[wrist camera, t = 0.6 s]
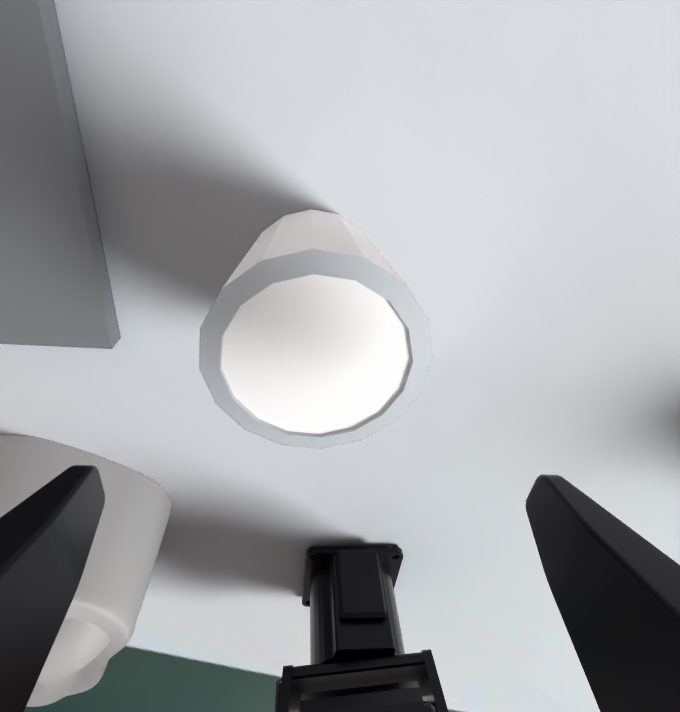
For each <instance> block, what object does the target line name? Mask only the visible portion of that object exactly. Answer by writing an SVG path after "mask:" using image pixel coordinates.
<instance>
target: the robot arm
mask: <svg viewBox="0 0 680 712" xmlns="http://www.w3.org/2000/svg"><path fill="white" fill-rule="evenodd" d="M104 504H105V492H104V488H103V484H102V481H101V477H100V473H99V470H98V468H97V467H96V466H94V465H73V466H71V467H69V468H67V469H66V470H65V471H63V472H62V473H60V474H59V475H58V476H56V477H55V478H54V479H52V480H51V481H50V482H48V483H47V484H45V485H44V486H43V487H41V488H40V489H39V490H37V491H36V492H34V493H33V494H32V495H30V496H29V497H28V498H26V499H25V500H24V501H22V502H21V503H19V504H18V505H17V506H15V507H14V508H13V509H11V510H10V511H8V512H7V513H6V514H4V515H3V516H2V517H0V712H24V710H25V708H26V706H27V703H28V701H29V699H30V696H31V694H32V692H33V690H34V687H35V685H36V683H37V680H38V678H39V676H40V674H41V671H42V669H43V667H44V664H45V662H46V660H47V658H48V655H49V653H50V651H51V648H52V646H53V644H54V642H55V639H56V637H57V635H58V632H59V630H60V628H61V626H62V623H63V621H64V619H65V616H66V614H67V612H68V610H69V607H70V605H71V603H72V600H73V598H74V596H75V593H76V591H77V588H78V586H79V583H80V580H81V577H82V574H83V571H84V568H85V565H86V562H87V559H88V556H89V552H90V549H91V546H92V543H93V540H94V537H95V533H96V530H97V527H98V524H99V521H100V518H101V514H102V511H103V508H104ZM526 511H527V515H528V518H529V522H530V525H531V528H532V532H533V535H534V538H535V542H536V545H537V548H538V552H539V555H540V558H541V562H542V565H543V568H544V572H545V575H546V578H547V581H548V583H549V586H550V588H551V591H552V594H553V596H554V599H555V601H556V604H557V606H558V608H559V611H560V613H561V616H562V618H563V621H564V623H565V626H566V628H567V630H568V633H569V635H570V638H571V640H572V643H573V645H574V648H575V650H576V653H577V655H578V657H579V660H580V662H581V665H582V667H583V670H584V672H585V675H586V677H587V680H588V682H589V684H590V687H591V689H592V692H593V694H594V697H595V699H596V702H597V704H598V707H599V709H600V711H601V712H680V565H679V564H678V563H676V562H675V561H674V560H672V559H671V558H669V557H668V556H667V555H665V554H664V553H663V552H661V551H660V550H659V549H657V548H656V547H655V546H653V545H652V544H651V543H649V542H648V541H647V540H645V539H644V538H643V537H641V536H640V535H639V534H637V533H636V532H635V531H633V530H632V529H631V528H629V527H628V526H627V525H625V524H624V523H623V522H621V521H620V520H619V519H617V518H616V517H615V516H613V515H612V514H611V513H609V512H608V511H607V510H605V509H604V508H603V507H601V506H600V505H599V504H597V503H596V502H595V501H593V500H592V499H591V498H589V497H588V496H587V495H585V494H584V493H583V492H581V491H580V490H579V489H577V488H576V487H575V486H573V485H572V484H571V483H569V482H568V481H567V480H565V479H564V478H562V477H561V476H558V475H540V476H539V477H537V479H536V481H535V483H534V485H533V487H532V489H531V491H530V493H529V495H528V497H527V500H526ZM402 559H403V553H402V550H401V548H399V547H313V548H310V549H308V550H307V552H306V562H305V572H304V583H303V594H302V604H303V605H304V606H308V607H310V645H311V665H305V666H297V667H293V665H289V666H283V674H282V678H281V679H280V680H278V681H277V682H276V702H275V712H448V709H447V706H446V702H445V699H444V695H443V691H442V688H441V684H440V681H439V677H438V674H437V670H436V666H435V663H434V659H433V656H432V652H431V649H430V650H422V651H421V652H420V653H411V654H405V652H404V646H403V641H402V635H401V629H400V624H399V618H398V612H397V607H396V601H395V595H394V586H395V583H396V579H397V576H398V573H399V569H400V566H401V562H402Z"/></svg>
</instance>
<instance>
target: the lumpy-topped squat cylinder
mask: <svg viewBox="0 0 680 712" xmlns="http://www.w3.org/2000/svg"><path fill="white" fill-rule="evenodd" d="M73 465H94V466H96V467H97V468H98V470H99V473H100V477H101V481H102V484H103V488H104V492H105V504H104V508H103V511H102V514H101V518H100V521H99V524H98V527H97V530H96V533H95V537H94V540H93V543H92V546H91V549H90V552H89V556H88V559H87V562H86V565H85V568H84V571H83V574H82V577H81V580H80V583H79V586H78V588H77V591H76V593H75V596H74V598H73V600H72V603H71V605H70V607H69V610H68V612H67V614H66V616H65V619H64V621H63V623H62V626H61V628H60V630H59V632H58V635H57V637H56V639H55V642H54V644H53V646H52V648H51V651H50V653H49V655H48V658H47V660H46V662H45V664H44V667H43V669H42V671H41V674H40V676H39V678H38V680H37V683H36V685H35V687H34V690H33V692H32V694H31V696H30V699H29V701H28V703H27V706H29V707H32V706H33V707H34V706H43V705H48V704H51V703H53V702H55V701H57V700H60V699H61V698H63V697H65V696H68V695H73V694H77V693H80V692H84V691H86V690H88V689H90V688H92V687H93V686H95V685H96V684H97V683H98V682H99V680H100V679H101V677H102V675H103V673H104V671H105V668H106V665H107V662H108V660H109V659H110V658H111V657H112V656H113V655H114V654H116V653H117V652H118V651H120V650H121V649H122V648H123V647H124V646H125V645H126V644H127V643H128V641H129V640H130V638H131V636H132V634H133V631H134V627H135V624H136V620H137V617H138V614H139V611H140V609H141V606H142V603H143V600H144V596H145V593H146V590H147V587H148V584H149V580H150V577H151V574H152V571H153V567H154V564H155V561H156V558H157V555H158V552H159V548H160V545H161V542H162V539H163V536H164V533H165V530H166V527H167V523H168V520H169V517H170V514H171V511H172V502H171V499H170V497H169V495H168V494H167V492H166V491H165V490H164V489H163V488H162V487H161V486H160V485H159V484H158V483H156V482H155V481H154V480H152V479H151V478H149V477H147V476H145V475H144V474H142V473H139V472H137V471H135V470H133V469H130V468H128V467H125V466H123V465H120V464H118V463H116V462H113V461H111V460H108V459H106V458H103V457H100V456H98V455H95V454H92V453H89V452H86V451H83V450H80V449H77V448H74V447H71V446H67V445H64V444H61V443H57V442H54V441H50V440H46V439H42V438H37V437H32V436H25V435H0V517H2V516H3V515H4V514H6V513H7V512H8V511H10V510H11V509H13V508H14V507H15V506H17V505H18V504H19V503H21V502H22V501H24V500H25V499H26V498H28V497H29V496H30V495H32V494H33V493H34V492H36V491H37V490H39V489H40V488H41V487H43V486H44V485H45V484H47V483H48V482H50V481H51V480H52V479H54V478H55V477H56V476H58V475H59V474H60V473H62V472H63V471H65V470H66V469H67V468H69V467H71V466H73Z"/></svg>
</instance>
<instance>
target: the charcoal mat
mask: <svg viewBox="0 0 680 712" xmlns="http://www.w3.org/2000/svg"><path fill="white" fill-rule="evenodd" d="M120 338H121V336H120V331H119V326H118V321H117V316H116V311H115V306H114V301H113V296H112V291H111V286H110V281H109V276H108V271H107V266H106V261H105V256H104V251H103V246H102V241H101V236H100V231H99V226H98V221H97V216H96V210H95V205H94V200H93V195H92V190H91V185H90V180H89V175H88V170H87V165H86V160H85V155H84V150H83V145H82V140H81V135H80V130H79V125H78V120H77V115H76V110H75V105H74V100H73V95H72V90H71V85H70V80H69V74H68V69H67V64H66V59H65V54H64V49H63V44H62V39H61V34H60V29H59V24H58V19H57V14H56V9H55V4H54V0H0V344H18V345H40V346H62V347H83V348H105V349H112V348H113V347H114V346H115V344H116V343H117V342H118V340H119V339H120Z"/></svg>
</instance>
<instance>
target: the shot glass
mask: <svg viewBox="0 0 680 712" xmlns="http://www.w3.org/2000/svg"><path fill="white" fill-rule="evenodd" d="M432 359H433V355H432V345H431V336H430V327H429V319H428V317H427V316H426V314H425V313H424V311H423V310H422V308H421V306H420V305H419V303H418V302H417V300H416V299H415V297H414V296H413V294H412V292H411V291H410V289H409V288H408V286H407V285H406V283H405V282H404V281H403V279H402V278H401V277H400V276H399V275H398V273H397V272H396V271H395V270H394V268H393V267H392V266H391V265H390V264H389V262H388V261H387V260H386V259H385V258H384V256H383V255H382V254H381V253H380V251H379V250H378V249H377V248H376V247H375V245H374V244H373V243H372V242H371V240H370V239H369V238H368V237H367V236H366V234H365V233H364V232H363V231H362V229H361V228H359V227H358V226H356V225H354V224H353V223H351V222H350V221H348V220H347V219H345V218H344V217H342V216H341V215H339V214H336V213H330V212H325V211H319V210H313V209H309V210H305V211H301V212H297V213H292V214H288V215H284V216H283V217H281V218H280V219H279V220H277V221H276V222H275V223H273V224H272V225H271V226H269V227H268V228H267V229H265V230H264V231H263V232H262V233H261V234H260V236H259V237H258V239H257V240H256V241H255V243H254V244H253V246H252V247H251V248H250V250H249V251H248V253H247V254H246V255H245V257H244V258H243V260H242V261H241V262H240V264H239V265H238V267H237V268H236V269H235V271H234V272H233V273H232V275H231V276H230V278H229V279H228V280H227V282H226V283H225V285H224V286H223V287H222V289H221V290H220V292H219V294H218V296H217V298H216V300H215V302H214V303H213V305H212V307H211V309H210V311H209V313H208V314H207V316H206V318H205V320H204V322H203V324H202V325H201V327H200V354H199V369H200V371H201V373H202V376H203V378H204V380H205V382H206V384H207V386H208V388H209V390H210V393H211V395H212V397H213V399H214V401H215V403H216V404H217V405H218V406H219V407H220V408H221V409H222V410H223V411H224V412H226V413H227V414H228V415H229V416H230V417H231V418H232V419H233V420H234V421H236V422H237V423H238V424H239V425H240V426H241V427H242V428H243V429H245V430H246V431H249V432H251V433H254V434H256V435H259V436H261V437H263V438H266V439H268V440H271V441H273V442H275V443H278V444H280V445H287V446H298V447H309V448H320V449H322V448H327V447H332V446H337V445H342V444H347V443H352V442H357V441H361V440H363V439H365V438H366V437H368V436H370V435H372V434H374V433H376V432H377V431H379V430H381V429H383V428H385V427H387V426H388V425H390V424H392V423H394V422H395V421H396V420H397V419H398V418H399V417H400V416H401V415H402V413H403V412H404V411H405V410H406V409H407V408H408V407H409V406H410V405H411V403H412V402H413V401H414V400H415V399H416V398H417V397H418V396H419V395H420V393H421V390H422V387H423V385H424V382H425V379H426V376H427V373H428V370H429V368H430V365H431V362H432Z"/></svg>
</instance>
